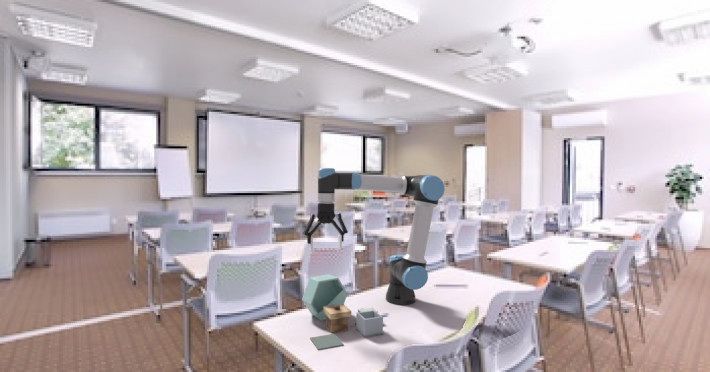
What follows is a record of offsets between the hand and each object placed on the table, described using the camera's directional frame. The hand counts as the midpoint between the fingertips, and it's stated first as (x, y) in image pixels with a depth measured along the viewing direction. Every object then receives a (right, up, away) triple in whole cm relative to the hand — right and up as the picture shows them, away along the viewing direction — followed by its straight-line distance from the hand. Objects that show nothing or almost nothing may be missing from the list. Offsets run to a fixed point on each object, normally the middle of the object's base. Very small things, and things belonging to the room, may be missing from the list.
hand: (325, 250), depth 164 cm
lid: (+6, -24, -13) cm, 28 cm away
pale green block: (+19, -30, -5) cm, 36 cm away
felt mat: (+2, -30, -25) cm, 40 cm away
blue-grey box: (+19, -30, -16) cm, 39 cm away
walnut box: (+6, -30, -13) cm, 33 cm away
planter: (0, -30, +1) cm, 30 cm away
